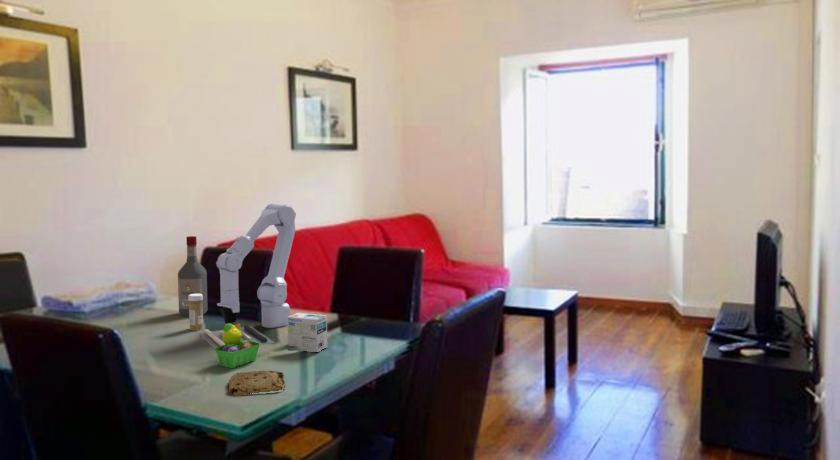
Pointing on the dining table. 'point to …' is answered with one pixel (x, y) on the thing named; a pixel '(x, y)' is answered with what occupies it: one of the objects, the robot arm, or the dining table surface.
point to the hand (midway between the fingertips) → (230, 329)
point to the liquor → (191, 279)
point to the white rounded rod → (214, 337)
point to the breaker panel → (245, 336)
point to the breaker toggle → (235, 325)
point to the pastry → (256, 382)
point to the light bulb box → (307, 332)
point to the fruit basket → (235, 348)
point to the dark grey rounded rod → (255, 333)
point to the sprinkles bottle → (195, 312)
